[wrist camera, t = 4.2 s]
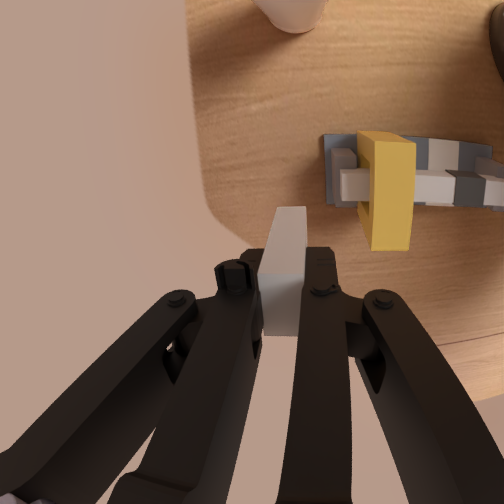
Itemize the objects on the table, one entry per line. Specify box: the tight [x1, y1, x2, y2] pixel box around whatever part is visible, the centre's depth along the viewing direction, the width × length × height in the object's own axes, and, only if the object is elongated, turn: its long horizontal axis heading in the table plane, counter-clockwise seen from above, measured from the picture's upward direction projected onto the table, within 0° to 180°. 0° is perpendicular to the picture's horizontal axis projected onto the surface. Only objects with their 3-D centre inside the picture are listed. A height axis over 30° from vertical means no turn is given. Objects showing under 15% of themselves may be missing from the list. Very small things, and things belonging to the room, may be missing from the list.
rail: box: [324, 134, 504, 212], centre depth 23 cm, size 7×19×7 cm, turn 96°
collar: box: [357, 131, 416, 251], centre depth 22 cm, size 8×3×8 cm, turn 6°
